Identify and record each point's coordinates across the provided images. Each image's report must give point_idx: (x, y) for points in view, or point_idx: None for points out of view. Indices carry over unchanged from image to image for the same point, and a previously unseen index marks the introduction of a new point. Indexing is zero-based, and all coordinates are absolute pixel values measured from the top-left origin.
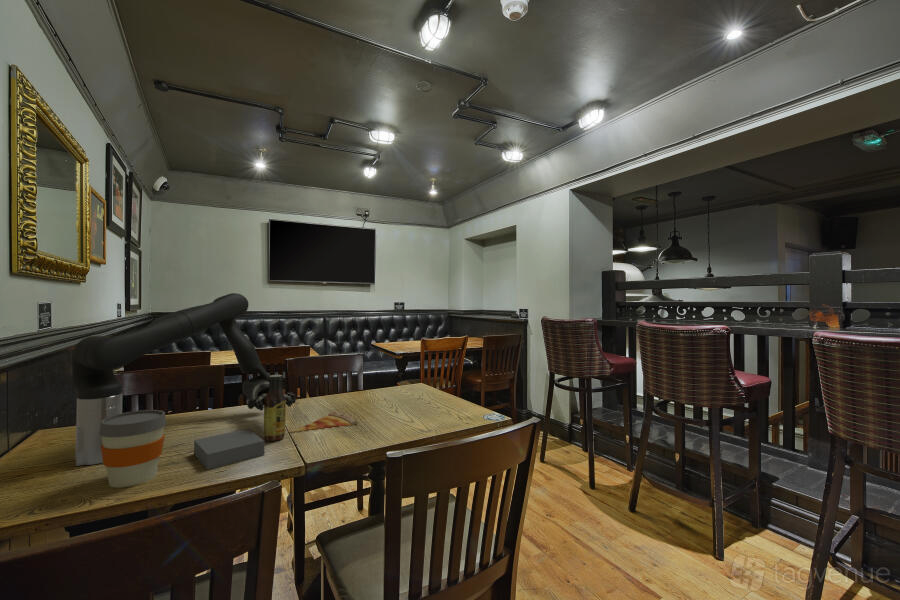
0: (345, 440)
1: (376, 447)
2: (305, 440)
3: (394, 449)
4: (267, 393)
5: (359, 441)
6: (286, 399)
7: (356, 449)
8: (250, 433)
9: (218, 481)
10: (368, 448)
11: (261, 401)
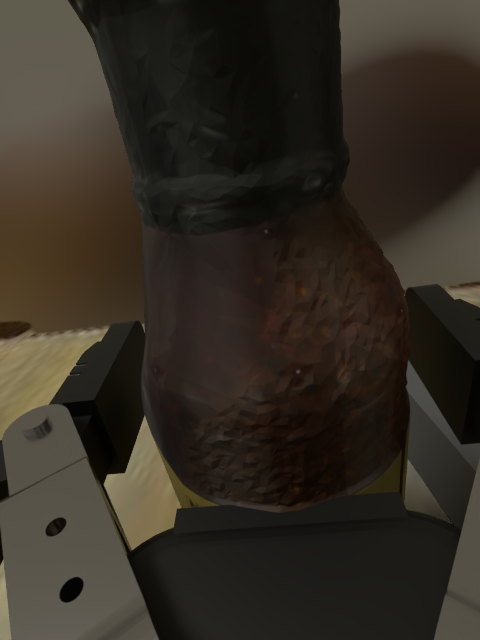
0: (34, 408)
1: (32, 339)
2: (151, 473)
3: (19, 322)
4: (370, 236)
5: (15, 385)
6: (107, 406)
7: (79, 343)
8: (476, 445)
9: (470, 293)
10: (52, 340)
11: (451, 333)
